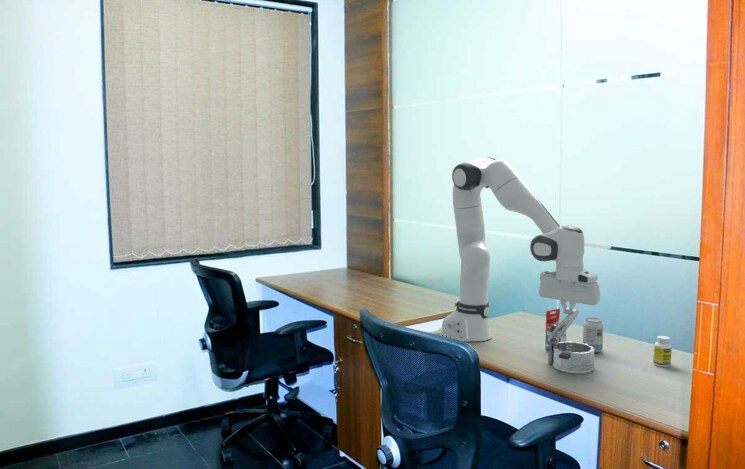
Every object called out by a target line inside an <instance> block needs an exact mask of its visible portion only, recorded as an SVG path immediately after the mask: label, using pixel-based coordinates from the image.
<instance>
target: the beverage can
mask: <svg viewBox="0 0 745 469" xmlns="http://www.w3.org/2000/svg"><path fill="white" fill-rule="evenodd" d="M582 326H583V328H582V343H585V344H588V345H590V346H593V348H594V354H599V353H600V352H602V351H603V348H604V346H603V342H604V323H603V321H602V318H597V317H587V318H585V320H584V322H583V325H582Z"/></svg>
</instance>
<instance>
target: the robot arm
mask: <svg viewBox="0 0 745 469" xmlns="http://www.w3.org/2000/svg"><path fill="white" fill-rule="evenodd" d="M451 178H452V183H453V186H452V204H453V207H452V208H453V214H454V222H455V229H456V237H457V246H458V255H459V258H460V279H459V280H460V281H459V301H457V302H456V303H454V304H453V307H454V308H455V307H456V308H455V310H453V311H452V312H451V313H449V314H448V315H447V316H445V317H444V318H443V320H442V325H441V328H438V329H437V330H436V335H437V334H439V335H438V336H440V335H443V336H442V337H444V336H447V337H451V338H455V339H459V340H462V341H465V342H464V343H466V342H483V341H484V342H485V341H487V340H488V341H489V340H490V339H492V333H491V329H490V322H489V316H490V315H489V313H490V303H489V299H488V298H489V277H490V265H491V264H490V263H491V255H490V252H489V249H488V248H487V243H486V234H485V232H486V231H485V220H484V212H483V206H482V205H483V204H482V198H481V192H482V190H483V189H484V188H485V189H488V188H490V190H491V192H492V194H493V195H494V197H495V199H496V200H497V201H498V202H499V204H500V205H501V206H502V207H503V208H504V209H505V210H507V211H509V212H514V213H518V214H521V215H522V216H523V215H524V216H526V217H528V218H529V219H531V220H532V221H533V223H534V224H535V225H536V227H537V228H538V229H539V230H540V232H541V234H538V235H536V236H533V238H532V239H531V241H530V244H529V249H530V253H531V255H532V257H533V258H534V259H535V260H537V261H539V262H550V261H554V262H555V271H549V270H544V271H542V272H540V274H539V281H540V282H539V288H538V294H539V296H540V297H541V298H547V299H553V300H558V301H560V303H559V304H560V305H561V307H562V309H563V310H562V313H563V314H566V315H569V314H570V313H571V312H572V311H573V309H574V307H575V306H576V305H577V304H583V305H587V306H588V305H589V306H596V305H598V304H599V303H600V301H601V291H600V285H599V283H598V282H597V281H598V280H599V279H598V278H599V275H597V274H596V273H594V272H593V271H590V270H587V269H585V267H584V261H583V258H584V255H585V236H584V235H585V234H584V231H583V229H581V228H580V227H577V226H574V225H567V224H564V225H563V224H562V225H560V224H559V223H558V221H557V220H556V219H555V218H554V217H553V216H552V214H551V213H550V212H549V210H547V208H546V207H545V206H544V205H543V203H542V202H541V201H540V200H539V199H538V198H537V197H536V196H535V194H533V193H532V192H531V190H530V189H529V188H528V186H527V185H526V184H525V182H524V181H523V180H522V178H521V177H520V175H519V173H518V172H517V171H516V170H515V169H514V168H513V167H512V166H511V164H510V163H508V162H507V161H506V160H504V159H498V158H496V157H485V158H482V157H481V158H476V159H473V160H468V161H463V162H461V163H459V164H456V165H455V167H454V168H453V169H452V174H451ZM567 302H569V305H570V306H569V307H568V306H567ZM447 337H446V338H447Z"/></svg>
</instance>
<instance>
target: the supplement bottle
mask: <svg viewBox="0 0 745 469" xmlns="http://www.w3.org/2000/svg"><path fill="white" fill-rule="evenodd" d="M672 349H673V345H672V344H671V337H669V336H667V335H657V337H656V341H655V343H654V347H653V362H652V363H653V364H654V366H657V367H662V368H669V367H671V365H672V351H673V350H672Z"/></svg>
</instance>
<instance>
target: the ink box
mask: <svg viewBox="0 0 745 469" xmlns="http://www.w3.org/2000/svg"><path fill="white" fill-rule="evenodd" d="M553 312H554V313H553ZM560 312H561V308H554V309H551V310H546V314H545V349H546V350H548V351H549V341H548V339H549V337H550V335H551V333H552V331H550V328H551V327H552V326H553V325H554V324H556V325H557V326H558V325H559V324H560V322H561V321H562V320H560ZM565 341H567V330H566V331H565V332H564V333H563V334H562V335H561V336H560V337H559V338H558V339H556V342H555V343H557V342H565Z"/></svg>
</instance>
